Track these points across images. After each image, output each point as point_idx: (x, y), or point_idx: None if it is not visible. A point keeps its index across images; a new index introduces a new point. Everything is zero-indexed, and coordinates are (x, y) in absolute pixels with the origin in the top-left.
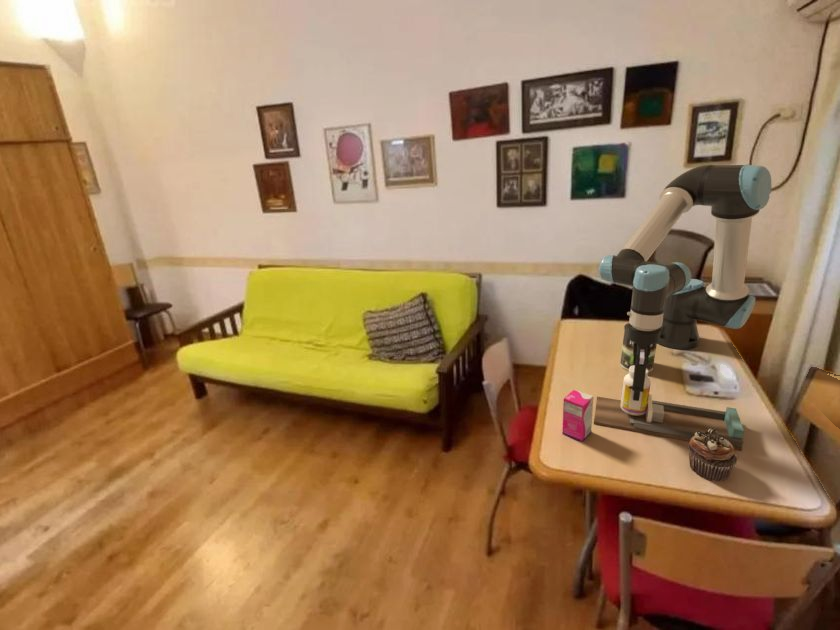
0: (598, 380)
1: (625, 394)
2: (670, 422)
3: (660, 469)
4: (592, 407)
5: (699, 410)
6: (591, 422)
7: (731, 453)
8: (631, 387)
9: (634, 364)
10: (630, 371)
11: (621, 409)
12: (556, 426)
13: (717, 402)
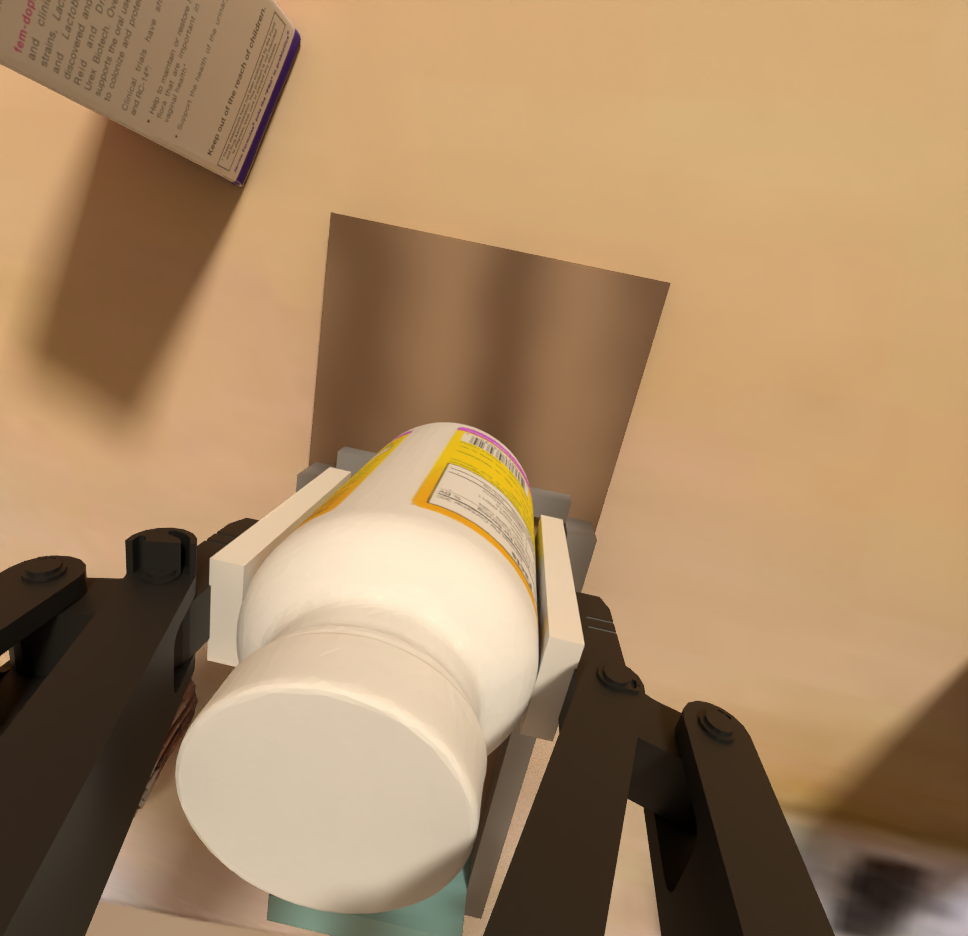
0: (950, 338)
1: (356, 475)
2: None
3: (51, 507)
4: (37, 82)
5: (489, 811)
6: (177, 153)
7: None
8: (131, 560)
9: (537, 794)
10: (254, 676)
11: (504, 430)
12: None
13: (633, 877)
